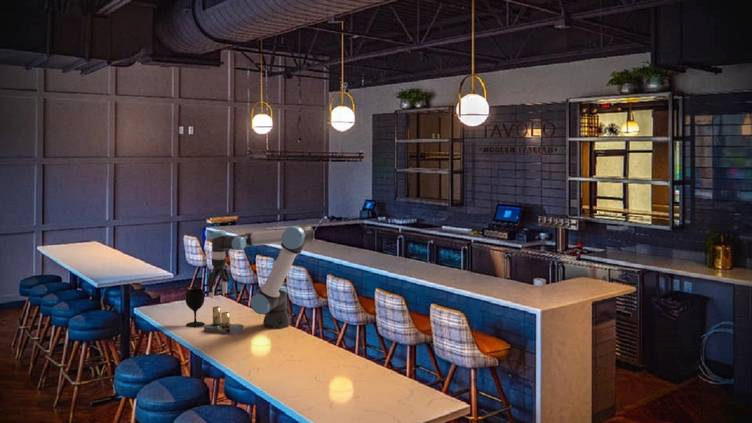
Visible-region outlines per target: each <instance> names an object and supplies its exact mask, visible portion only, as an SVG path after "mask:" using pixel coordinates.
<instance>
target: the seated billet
mask: <svg viewBox="0 0 752 423" xmlns="http://www.w3.org/2000/svg"><path fill="white" fill-rule="evenodd" d="M230 317H231V316H230V312H228V311H224V312H221V327H222V328H229V327H230V324H231V323H230Z"/></svg>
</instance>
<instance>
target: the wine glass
mask: <svg viewBox="0 0 752 423" xmlns="http://www.w3.org/2000/svg"><path fill="white" fill-rule="evenodd" d="M184 298H185V304H186V306H187V307H188V308H189V309H190V310H192V311H193V314H194V315H193V316H194V317H193V318H194V319H193V321H190V322H187V323H186V325H185V326H186V327H188V328H199V327H203V326H205V322H203V321H197V311H198V310H200V309H202V306H203V305H204V302H205V292H204V290H203V289H202V288H190V289H188V290H186V292H185V297H184Z"/></svg>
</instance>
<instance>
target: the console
mask: <svg viewBox="0 0 752 423" xmlns="http://www.w3.org/2000/svg"><path fill="white" fill-rule="evenodd" d="M238 324H239V327H234V325H232V326H230V332H229V335H235V334H236V335H237V336H238V335H240V334H243V333H244V330H245V328H244V327H245V326H244V324H240V323H238Z"/></svg>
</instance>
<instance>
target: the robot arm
mask: <svg viewBox="0 0 752 423" xmlns="http://www.w3.org/2000/svg"><path fill="white" fill-rule="evenodd" d="M314 238H315V230H314V229H313V227H312V226H311V225H309V224H307V223H302V224H297V225H291V226H288V227H287V228H284V229H275V230H274V229H273V230H265V231H258V232H257V231H256V232H246V233H241V234H237V235H227V233H226V231H224V230H214V231H213V232H212V234H211V266H213V268H209V274H208V277H207V282H206V285H205V286H206V287H208V298H209V299H215V286H214V285H215V283H216V280H217V278H218V277H219V276H220V277H221V279H222V283H221V285H222V289H221V292H222V294H227V293H228V282H230V279H231V278H230V274H229V271H228V265H227V264H226V257H227V256H226V250H233V251H243V250H245V248H246V247H255V246H264V245H265V246H267V245H274V244H276V245H277V244H280V247H281V250H280V251H279V254H278V256H277V257H276V259H275V262H274V265H273V266H272V268H271V270H270V272H269V274H268V276H267V277H266V278H267V279H266V281H265V283H264V284H262V285H260V287H259V289H258V291H257V292H256V293H255V294H254V295H253V296H252V297H251V299H250V307H251V309H252V311H253V312H254V313H256V314H258V315H264V318H263V321H262V326H263V327H264V328H267V329H283V328H288V327H289V326H290V325H291V322H290V317H289V315H288V311H287V310H288V307H287V305H288V300H287V299H288V297H287V296H288V290H287V287H286V286H285V285H283V283H284V282H285V279H286V277H287V275H288V273H289V271H290V269H291V267H292V265H293V263H294V260H295V258H296V257H297V256H298V255H300V254H302V251H303V249H304V247H305V246H306V245H310V244H311V243H312V242H313V240H314Z"/></svg>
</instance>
